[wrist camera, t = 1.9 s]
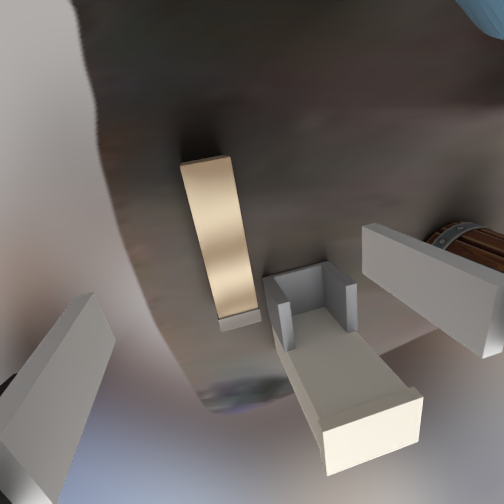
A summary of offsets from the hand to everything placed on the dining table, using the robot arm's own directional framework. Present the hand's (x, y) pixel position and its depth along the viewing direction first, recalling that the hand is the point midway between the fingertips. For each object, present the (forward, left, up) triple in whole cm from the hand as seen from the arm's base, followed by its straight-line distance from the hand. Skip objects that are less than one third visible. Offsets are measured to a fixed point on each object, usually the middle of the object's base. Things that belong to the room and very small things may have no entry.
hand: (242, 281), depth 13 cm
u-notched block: (+15, +8, -16) cm, 23 cm away
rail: (+3, 0, -16) cm, 16 cm away
